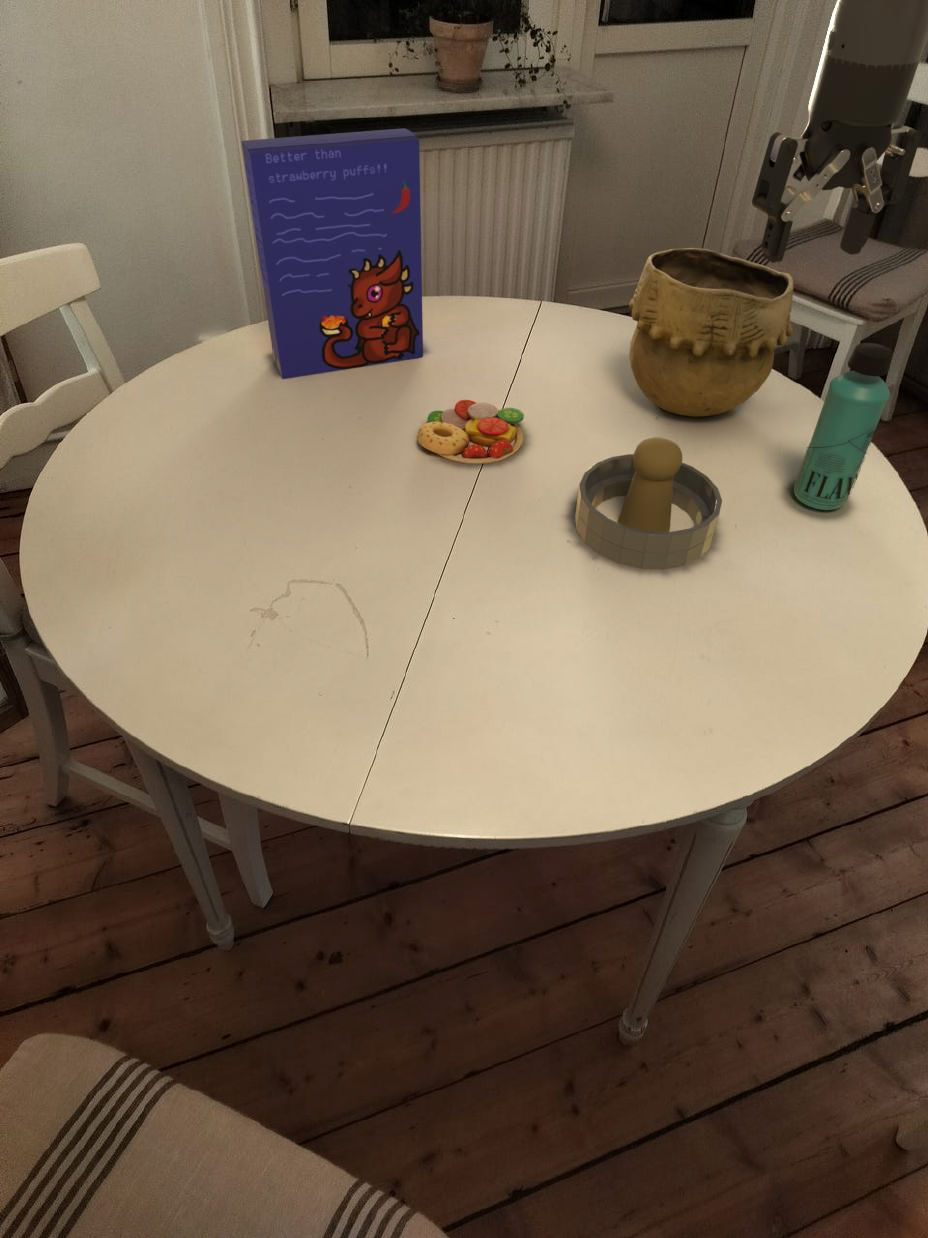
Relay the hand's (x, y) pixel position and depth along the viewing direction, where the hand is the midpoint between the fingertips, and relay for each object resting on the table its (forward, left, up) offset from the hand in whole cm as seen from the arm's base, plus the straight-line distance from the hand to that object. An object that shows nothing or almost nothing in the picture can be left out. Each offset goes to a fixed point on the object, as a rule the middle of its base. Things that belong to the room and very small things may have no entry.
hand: (811, 255), depth 79 cm
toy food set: (+34, +7, -30) cm, 46 cm away
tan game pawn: (+7, +10, -30) cm, 32 cm away
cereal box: (+63, 0, -30) cm, 70 cm away
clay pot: (+16, -20, -30) cm, 40 cm away
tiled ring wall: (+7, +10, -30) cm, 32 cm away
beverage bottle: (-7, -8, -30) cm, 32 cm away
